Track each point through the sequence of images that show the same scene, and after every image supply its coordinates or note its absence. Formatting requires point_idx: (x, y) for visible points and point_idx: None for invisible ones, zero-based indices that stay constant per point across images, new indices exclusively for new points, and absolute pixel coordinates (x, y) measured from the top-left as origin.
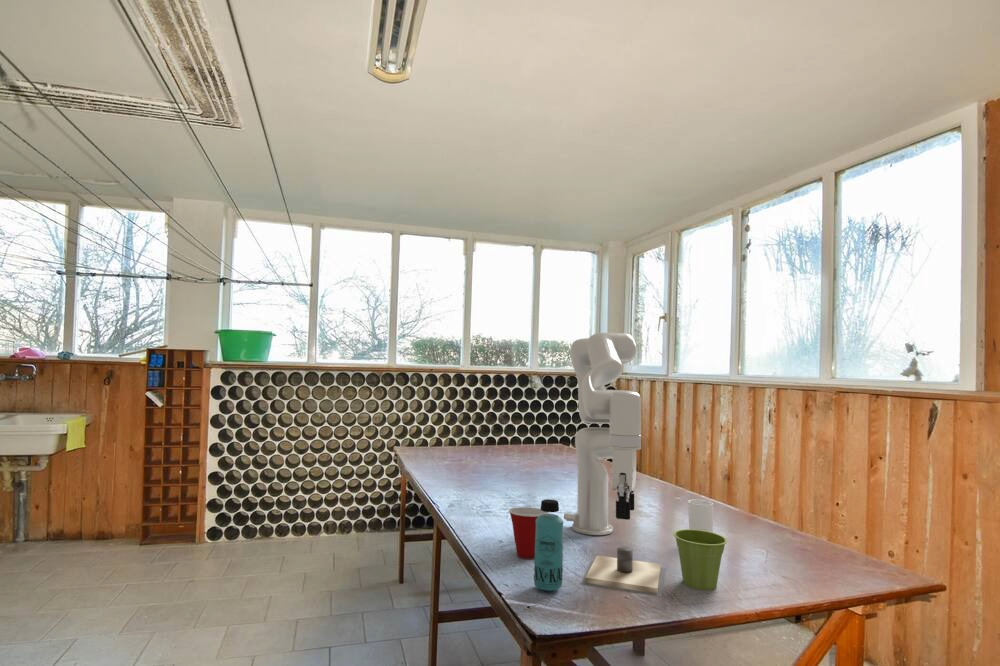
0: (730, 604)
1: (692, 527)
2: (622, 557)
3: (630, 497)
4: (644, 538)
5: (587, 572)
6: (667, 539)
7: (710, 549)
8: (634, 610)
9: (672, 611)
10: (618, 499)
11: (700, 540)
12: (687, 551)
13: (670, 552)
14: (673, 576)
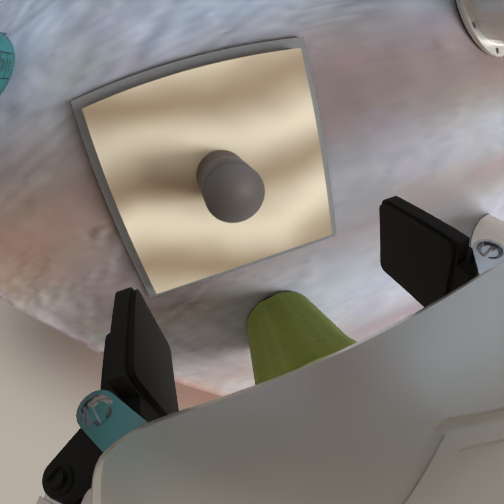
0: (222, 375)
1: (502, 240)
2: (201, 191)
3: (429, 292)
4: (487, 127)
5: (167, 67)
6: (492, 172)
7: None
8: (52, 277)
9: (110, 329)
10: (89, 422)
11: None
12: (258, 380)
13: (440, 200)
14: (304, 260)
